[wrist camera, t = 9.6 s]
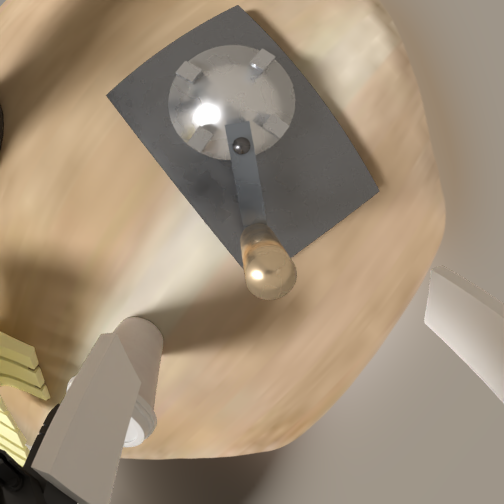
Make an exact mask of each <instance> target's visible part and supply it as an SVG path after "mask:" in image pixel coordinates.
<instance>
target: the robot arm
mask: <svg viewBox="0 0 504 504" xmlns="http://www.w3.org/2000/svg"><path fill="white" fill-rule="evenodd" d="M2 136H3V114H2V109H1V105H0V148H1V143H2ZM424 323H425V324H426V325H427V326H428V327H429V328H431V329H432V330H433V331H434V332H435V333H436V334H437V335H438V336H439V337H440V338H441V339H442V340H443V341H444V342H445V343H446V344H447V345H448V346H449V347H450V348H451V349H452V350H453V351H455V353H456V354H457V355H458V356H459V357H460V358H461V359H462V360H464V362H465V363H466V364H467V365H468V366H469V367H470V368H471V369H472V370H473V371H474V372H475V373H476V374H477V375H478V376H479V377H480V378H481V379H482V380H483V381H484V382H485V384H486V385H487V386H488V387H489V388H490V389H491V390H492V391H493V392H494V393H495V394H496V395H497V397H498V398H499V399H500V400H501V401H502V402H503V403H504V303H502V302H501V301H499V300H498V299H496V298H495V297H493V296H491V295H490V294H489V293H487V292H486V291H484V290H483V289H481V288H479V287H478V286H476V285H474V284H473V283H471V282H470V281H468V280H467V279H465V278H463V277H462V276H460V275H458V274H457V273H455V272H453V271H452V270H450V269H448V268H447V267H445V266H439V267H436V268H433V269H431V274H430V283H429V292H428V300H427V307H426V313H425V319H424ZM140 386H141V381H140V379H139V377H138V375H137V373H136V372H135V370H134V368H133V366H132V364H131V362H130V360H129V358H128V356H127V354H126V352H125V350H124V348H123V346H122V343H121V341H120V339H119V337H118V335H117V333H107V334H101V335H100V337H99V338H98V340H97V341H96V343H95V345H94V346H93V348H92V350H91V351H90V353H89V355H88V356H87V358H86V360H85V361H84V363H83V365H82V366H81V368H80V370H79V372H78V373H77V375H76V377H75V379H74V380H73V382H72V384H71V386H70V387H69V389H68V391H67V393H66V395H65V397H64V399H63V400H62V402H61V404H57V405H56V406H55V407H54V408H53V409H52V410H51V411H50V412H49V414H48V416H47V418H46V420H45V421H44V423H43V424H44V426H42V427H41V429H40V431H39V435H37V438H36V440H35V442H34V444H33V446H32V448H31V450H30V452H29V455H28V457H27V459H26V461H25V464H24V465H23V467H21V466H20V465H19V464H18V463H17V462H16V461H15V460H14V459H13V458H12V457H11V456H10V455H9V454H8V453H7V452H6V451H5V450H1V449H0V504H77V503H79V504H110V500H111V495H112V490H113V486H114V481H115V477H116V472H117V469H118V464H119V460H120V456H121V453H122V449H123V445H124V441H125V437H126V434H127V430H128V426H129V423H130V419H131V416H132V412H133V409H134V406H135V402H136V399H137V396H138V392H139V389H140Z"/></svg>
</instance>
